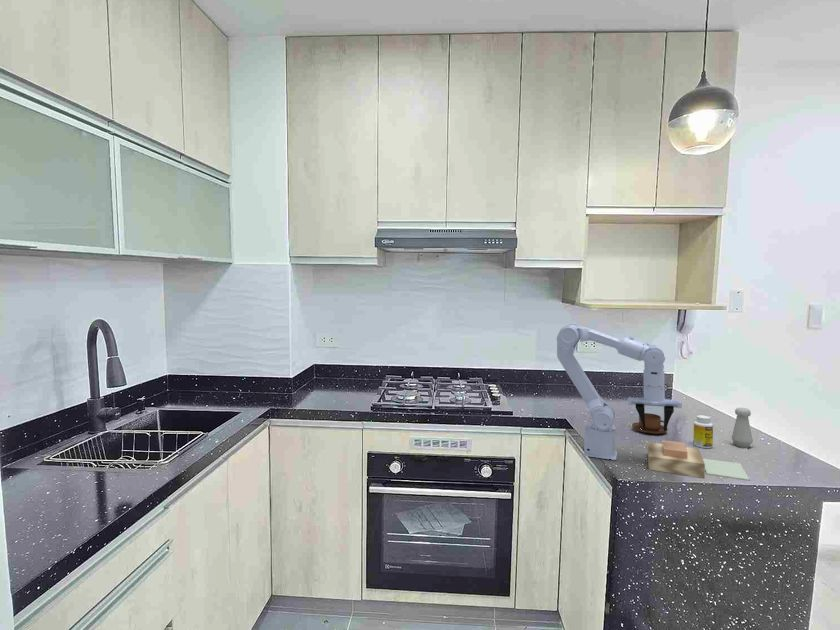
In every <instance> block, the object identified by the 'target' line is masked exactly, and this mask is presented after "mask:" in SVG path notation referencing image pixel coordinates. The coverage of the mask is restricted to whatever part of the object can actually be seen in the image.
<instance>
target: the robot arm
mask: <svg viewBox="0 0 840 630" xmlns="http://www.w3.org/2000/svg"><path fill="white" fill-rule="evenodd" d="M588 341H589V342H590V341H591V342H594V343H598V344H601V345H605V346H608V347H610V348H614V349H615V350H616V352H617V353H618V354H619V355H622V356H625V357H627V358H629V359H633V360H635V361H638V362H641V361H643V363H644V365H643V367H644V369H643V373H642V374H643V375H642V376H643V397H629V396H628V397H627V399H628V400H627V405H629V406H632V405H634V406H635V409H636V412H637V413H638V417H639V416H640V418H641V421H642V425H643V429H646V428H645V413H646V412H645V411H646V410H645V406H651V407H662V408H663V421H664V423H663V426H664V431H666V432H668V430H667V429H668V426H669V422H670V420H671V417H672V415H673V414H674V411H675V408H677V409H682V407H683V405H682V403H683V402H682V400H677V399H668V398H665V397H666V395H665V394H666V393H665V388H666V387H665V385H666V384H665V381H666V380H665V371H664V369H665V365H664V363H665V360H666V357H665V354H664V352H663V350H662V349H661V347H658V346H656V345H655V344H654V345H652V344H651V343H649V342H646V343H645V342H641V341H639V340H635V337H634V336H633V337H632V336H629V337H627V336H624V337H622V338H617V337H614V336H613V335H609V334H606V333H603V332H601V331H599V330H596V329H593V328H590V327H586V326H583V325H577V324H573V323H570V324H567V325H565V326H563V327H561V328H560V330H559V332H558V334H557V336H556V357H557V359H558V361H559V362H560V364H561V365H562V367H563V368H564V371H565V372H566V374H567V375H568V376H569V379H570V380H571V382H572V383H573V385H574V386H575V388H576V390H577V391H578V393H579V394H580V397H582V400H583V401H584V402H585V405H586V406H587V409H588V412H589V414H590V416H591V421H592V423H591V425H585V426H584V435H583V436H584V437H583V438H584V439H583V440H584V443H583V448H584V449H583V456H584V457H591V458H597V459H604V460H609V459H611V460H610V461H616V460H617V456H618V451H617V450H616V437H617V436H616V434H617V432H616V430H617V429H616V428H617V427H616V425H614V420H615V417H616V413H615V410H614V408H613V407H611V406H610V405H608V403H606V401H605V400H604V399H603V397H601V396H600V394H599V393H598V390H596V388H595V386H594V385H593V382H591V380H590V379H589V377H588V375H587V374H586V373H585V371H584V369H583V368H582V366H581V364H580V363H579V362H578V359H576V357H575V354H574V353H575V351H576V348H577V345H578V344H579V342H580V343H583V342H588Z"/></svg>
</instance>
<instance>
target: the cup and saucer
mask: <svg viewBox="0 0 840 630" xmlns="http://www.w3.org/2000/svg"><path fill="white" fill-rule="evenodd" d="M662 423H663V424H664V419H663V420H662V417H661V415H658V414H655V413H649V412H648V413H646V412H645V428H646V429H643V425H642V421H641V418H640V416H639V415H638V422H634V423H632V424H631V427H632V428H633V429H635V430H636V431H638V432H641V433H645V434H650V435H661V434H665V433H666V432H667V431H668V430H669V429H668V428H667V431H664V425H662ZM640 428H641V429H642V430H641V429H640Z"/></svg>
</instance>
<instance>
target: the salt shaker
mask: <svg viewBox="0 0 840 630" xmlns="http://www.w3.org/2000/svg"><path fill="white" fill-rule="evenodd" d="M734 413H735V415H736V418H735V423H734V426H733V430H732V434H731V441H732V442H733V444H734V446H735V447H737V448H743V449H749V448H750V446H751V445H752V444H753V441H754V440H753V439H754V438H753V435H752V431H751V425H750V419H749V417H751V415H752V411H751V410H750V409H749V408H746V407H737V408H735V409H734Z"/></svg>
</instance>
